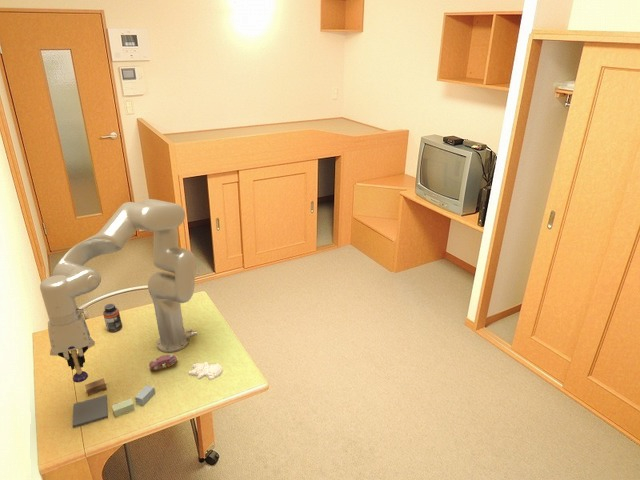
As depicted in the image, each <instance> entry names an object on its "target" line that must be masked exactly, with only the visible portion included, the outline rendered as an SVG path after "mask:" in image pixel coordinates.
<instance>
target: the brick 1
mask: <svg viewBox="0 0 640 480" xmlns="http://www.w3.org/2000/svg"><path fill="white" fill-rule="evenodd" d="M84 386H85V390H86V394H87V397H90V396H93V395H95V394H99V393H101V392H103V391H107V390H108V389H107V383H106V381H105V379H104V378H100V379H98V380H95V381H93V382H90V383H86V384H84Z"/></svg>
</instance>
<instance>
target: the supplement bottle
mask: <svg viewBox="0 0 640 480" xmlns="http://www.w3.org/2000/svg"><path fill="white" fill-rule="evenodd" d="M103 308H104V310H103V312H102V313H103V314H102V315H103V318H104V319H103V320H104V322H105V327H106V330H107V331H108V332H109V333H115V332H118V331H120V330H121V329H122V328H123V323H122V320H121V319H122V318H121V315H120V311H119V309H118V308H117V307H116V305H115V304H114V303H108V304H105V305H104V307H103Z"/></svg>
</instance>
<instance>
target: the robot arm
mask: <svg viewBox="0 0 640 480" xmlns="http://www.w3.org/2000/svg"><path fill="white" fill-rule="evenodd" d="M185 212H186V211H185V209H184V207H183V206H182V205H181V204H178V203H175V202H170V201H164V200H159V199H156V198H155V199H154V198H146V199H143V200H141V202H140V203H139V202H134V201H127V202H124V203H122V205H120V206H119V207H118V208H117V210H116V211H115V212H114V213H113V215H112V216H111V217H110V218H109V220H108V221H107V222H106V223H105V224H104V225H103V227H102V228H101V229H100V230H99V231H98V232H97V233H96V234H94V235H92V236H90V237H88V238H86V239H84V240H83V241H81V242H79V243H77V244H75V245H74V246H72V247H70V249H69V250H68V251H67V252H66V253H65V254H64V255H63V256H62V257H61V258H60V260H59V261H58V263H56V265H55V266H54V269H53V272H52V276H48V277H46V278H44V279H43V280H42V281H41V282H40V284H39V290H40V293H41V296H42V300H43V303H44V307H45V309H46V310H45V311H46V313H47V316H48V322H47V330H48V338H49V342H50V352H49V355H50V356H53V357H54V356H55V357H57V356H58V357H59V358H63V359H64V360H66V363H67V365H68V367H70V369H71V370H72V371H74V369H75V366H74V362H73V360H72V359H73V358H72V356H71V353H70V350H75V349H76V350H77V354H78V360H79V364H80V367H81V369H82V368H84V364H85V363H86V358H85V354H86V352H87V351H88V350H89V349H90V348H92V347H94V346H95V344H96V342H95V340H94V339H93V338H92V337H91V335H90V331H89V328H88V325H87V322H86V320H85V318H84V315H83V314H84V308H79V307H78V306H77V303H76V298H77V297H80V296H82V295H86V294H89V293H91V292H93V291H94V290H96V289H98V287H99V286H100V284H101V282H102V276H101V273H99V271H98V270H97V269H94V268H92V267H89V266H85V264H86V263H87V262H90V260H93V258H96V257H99V256H100V257H101V256H103V255H104V256H105V255H109V254H112V253H117V252H119V251H122V250H123V248H124V246H125V245H126V244H127V243H128V242H129V240H130V239H131V238H132V236H133V235H134V234H135V233H136V231H137V230H140V231H144V232H153V251H152V252H153V253H152V254H153V255H152V259H153V265H154V267H155V268H157V269H159V270H162V271H158V272H157V271H156V272H155V273H153V274H152V275H150V277H149V278H148V281H147V290H148V293H149V296H150V298H151V301H152V303H153V307H154V311H155V319H156V325H157V330H158V335H159V336H158V339H157V340H156V348H157V349H158V351H161V352H163V353H176V352H179V351H181V350H184V349H185V348H186V347H187V346H188V345H189V343H190V337H195V336H198V334H197V333H198V332H197V330H194V329H193V328H189V329H185V326H184V320H183V313H182V306H181V304H185V303H187V302H190V300H191V299H192V297H193V295H194V291H195V285H196V282H195V281H196V265H197V263H196V262H197V260H196V257H195V254H194V253H193V252H192V251H191V250H189V249H187V248H183V247H180V246H179V234H178V233H179V230H178V227H180V226H181V225H182V224H183V223H184V221H185V219H186V213H185ZM165 271H166V272H165ZM71 346H74V347H75V348H73V349H68V348H69V347H71Z"/></svg>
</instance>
